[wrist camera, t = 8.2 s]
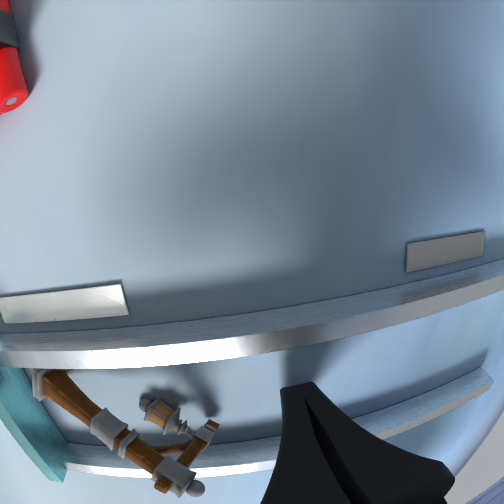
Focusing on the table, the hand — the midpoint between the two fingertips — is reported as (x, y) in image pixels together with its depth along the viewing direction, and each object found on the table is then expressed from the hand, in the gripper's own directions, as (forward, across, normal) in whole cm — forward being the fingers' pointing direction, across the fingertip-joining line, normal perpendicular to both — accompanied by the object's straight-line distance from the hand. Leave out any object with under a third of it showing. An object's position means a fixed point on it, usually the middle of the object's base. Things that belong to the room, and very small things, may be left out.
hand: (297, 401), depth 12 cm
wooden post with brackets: (+1, +7, -1) cm, 7 cm away
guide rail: (+1, 0, 0) cm, 1 cm away
